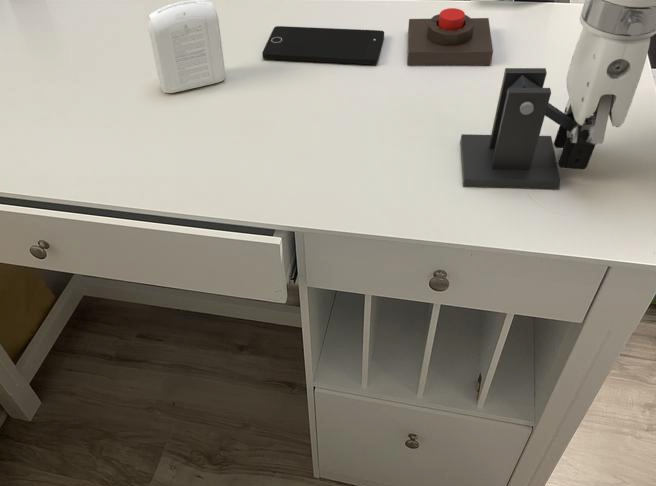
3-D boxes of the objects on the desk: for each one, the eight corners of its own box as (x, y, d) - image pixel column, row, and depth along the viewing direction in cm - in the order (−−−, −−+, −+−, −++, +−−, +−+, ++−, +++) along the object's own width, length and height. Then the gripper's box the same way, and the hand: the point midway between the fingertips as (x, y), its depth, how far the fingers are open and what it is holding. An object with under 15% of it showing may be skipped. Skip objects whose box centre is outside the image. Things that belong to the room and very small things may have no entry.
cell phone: (274, 31, 110) (274, 25, 109) (384, 35, 106) (385, 30, 105) (261, 59, 104) (261, 53, 104) (376, 65, 100) (377, 59, 99)
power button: (462, 19, 100) (464, 7, 99) (463, 31, 98) (465, 19, 96) (438, 19, 100) (439, 8, 99) (438, 31, 98) (439, 20, 97)
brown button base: (486, 31, 104) (490, 6, 101) (490, 65, 98) (495, 40, 95) (407, 31, 106) (410, 7, 103) (407, 65, 100) (409, 40, 97)
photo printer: (222, 68, 104) (211, -11, 95) (229, 82, 101) (218, 2, 92) (158, 83, 103) (140, 5, 93) (163, 98, 100) (146, 18, 91)
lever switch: (578, 139, 81) (600, 121, 78) (582, 156, 79) (605, 137, 76) (503, 90, 77) (524, 69, 75) (505, 106, 75) (527, 85, 73)
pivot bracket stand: (549, 143, 85) (574, 58, 76) (558, 189, 79) (586, 103, 70) (460, 141, 87) (474, 58, 78) (462, 186, 81) (478, 102, 72)
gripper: (683, 52, 61) (613, 203, 75) (646, -27, 72) (591, 119, 85) (597, 49, 62) (544, 199, 76) (573, -28, 73) (530, 116, 87)
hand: (569, 155), depth 81 cm, fingers closed on lever switch, 3 cm apart
